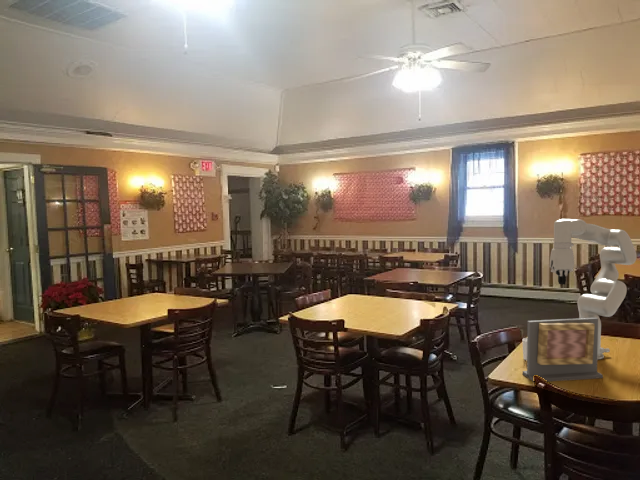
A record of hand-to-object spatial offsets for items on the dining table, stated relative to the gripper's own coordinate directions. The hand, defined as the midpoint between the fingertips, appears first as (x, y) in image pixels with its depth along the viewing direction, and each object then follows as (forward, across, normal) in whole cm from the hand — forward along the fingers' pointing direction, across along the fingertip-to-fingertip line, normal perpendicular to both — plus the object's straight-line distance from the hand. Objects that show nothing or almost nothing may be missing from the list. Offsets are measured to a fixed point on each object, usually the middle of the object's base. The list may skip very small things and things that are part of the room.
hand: (561, 284), depth 236 cm
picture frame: (+32, +10, +19) cm, 39 cm away
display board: (+39, +9, +16) cm, 43 cm away
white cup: (+39, +11, -8) cm, 42 cm away
